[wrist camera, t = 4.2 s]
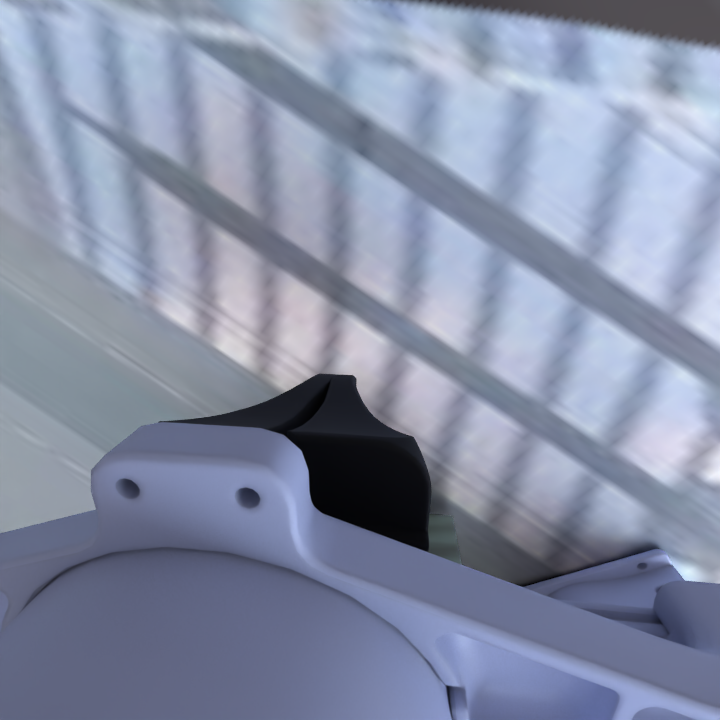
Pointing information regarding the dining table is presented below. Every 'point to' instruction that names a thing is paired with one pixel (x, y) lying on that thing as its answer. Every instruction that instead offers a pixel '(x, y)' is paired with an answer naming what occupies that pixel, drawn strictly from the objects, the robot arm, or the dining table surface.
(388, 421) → the dining table surface
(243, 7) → the dining table surface
